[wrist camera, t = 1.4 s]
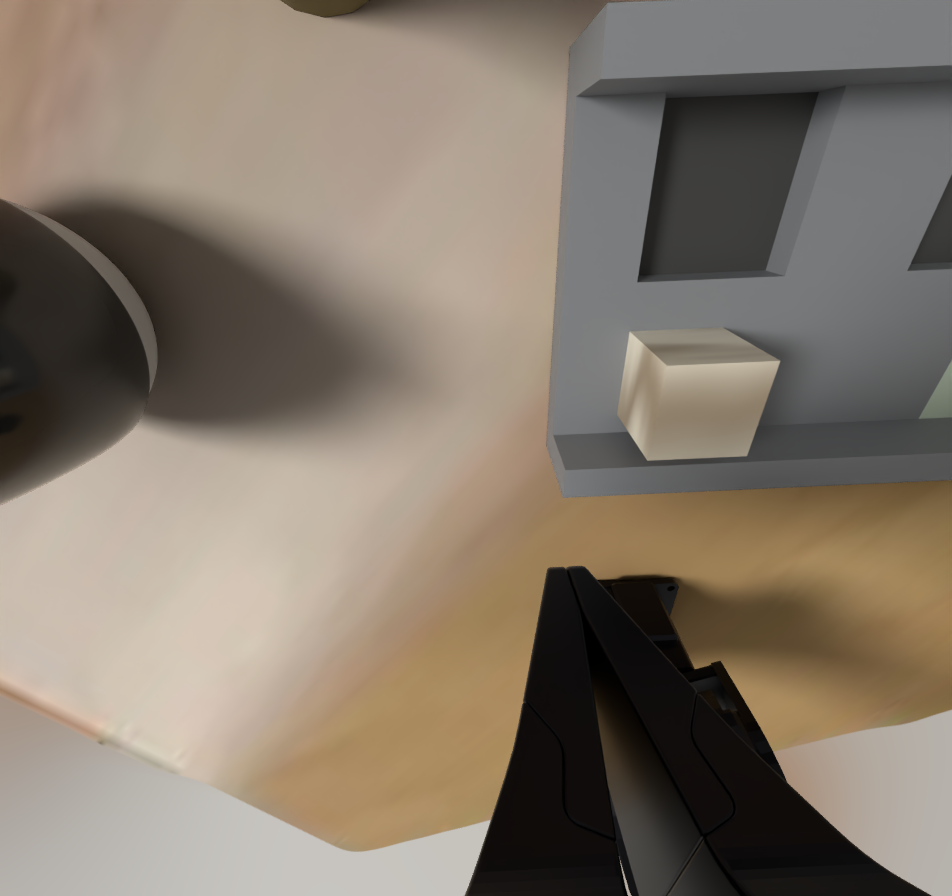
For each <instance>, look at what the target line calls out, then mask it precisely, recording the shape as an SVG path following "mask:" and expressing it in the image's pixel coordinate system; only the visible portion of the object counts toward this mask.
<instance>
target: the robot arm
mask: <svg viewBox="0 0 952 896" xmlns="http://www.w3.org/2000/svg"><path fill="white" fill-rule="evenodd" d="M678 588H679V586H678V584H677V582H676V581H675V580H674V579H649V580H628V581H607V582H598V581H597V580H596V579H595V577H594V576H593V575H592V574H591V573H590V572H589V571H588V570H587V569H586V568H585V567H583V566H571V567H567V568H566V569H565V568H564V567H550V568H548V569H547V573H546V579H545V584H544V590H543V595H542V601H541V606H540V611H539V617H538V622H537V628H536V633H535V639H534V644H533V650H532V655H531V661H530V666H529V671H528V677H527V682H526V688H525V693H524V699H523V704H522V708H521V714H520V719H519V724H518V729H517V733H516V738H515V743H514V747H513V751H512V754H511V758H510V761H509V765H508V768H507V771H506V775H505V778H504V781H503V784H502V788H501V791H500V794H499V797H498V800H497V803H496V806H495V809H494V812H493V815H492V818H491V821H490V825H489V828H488V831H487V834H486V837H485V840H484V843H483V846H482V849H481V852H480V855H479V858H478V861H477V864H476V867H475V870H474V873H473V875H472V878H471V881H470V883H469V886H468V889H467V891H466V894H465V896H628V895H627V891H626V888H625V883H624V879H623V874H622V869H621V864H622V867H623V871H624V874H625V877H626V880H627V884H628V888H629V891H630V893H631V895H632V896H931V895H929V894H927V893H926V892H924V891H922V890H921V889H919V888H917V887H915V886H914V885H912V884H910V883H908V882H907V881H905V880H903V879H901V878H900V877H898V876H897V875H895V874H893V873H892V872H890V871H889V870H887V869H886V868H884V867H883V866H881V865H880V864H878V863H877V862H876V861H874V860H873V859H872V858H870V857H869V856H867V855H866V854H865V853H863V852H862V851H861V850H860V849H858V848H857V847H856V846H855V845H854V844H852V843H851V842H850V841H849V840H848V839H847V838H846V837H845V836H843V835H842V834H841V833H840V832H839V831H838V830H837V829H836V828H835V827H834V826H832V825H831V824H830V823H829V822H828V821H827V820H826V819H825V818H824V817H823V816H822V815H821V814H820V813H819V812H818V811H817V810H815V809H814V808H813V807H812V806H811V805H810V804H809V803H808V802H807V801H806V800H805V799H804V798H803V797H802V796H800V794H798V792H796V791H795V790H794V789H793V788H792V787H791V786H790V785H789V784H788V783H787V781H786V779H785V776H784V774H783V772H782V769H781V767H780V765H779V763H778V761H777V759H776V757H775V755H774V753H773V751H772V749H771V747H770V745H769V743H768V741H767V739H766V737H765V735H764V734H763V732H762V730H761V728H760V726H759V725H758V723H757V721H756V720H755V718H754V716H753V714H752V713H751V711H750V709H749V708H748V706H747V704H746V703H745V701H744V699H743V698H742V696H741V694H740V693H739V691H738V689H737V688H736V686H735V684H734V683H733V681H732V679H731V678H730V676H729V674H728V673H727V671H726V669H725V668H724V666H723V664H722V663H721V661H717V662H714V663H711V665H710V666H706V667H702V668H699V669H694V666H693V664H692V662H691V660H690V658H689V656H688V654H687V652H686V650H685V647H684V645H683V643H682V641H681V639H680V637H679V635H678V633H677V631H676V628H675V626H674V624H673V622H672V620H671V618H670V614H671V611H672V607H673V604H674V601H675V598H676V595H677V591H678ZM619 857H620V859H619ZM620 860H621V864H620Z"/></svg>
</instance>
